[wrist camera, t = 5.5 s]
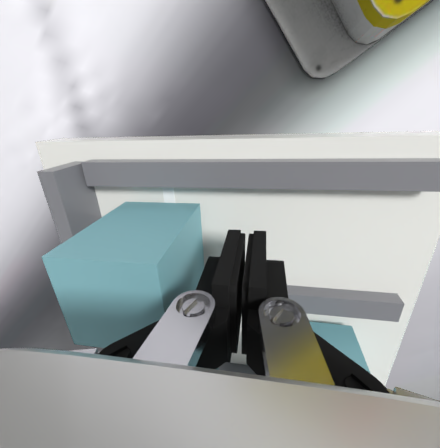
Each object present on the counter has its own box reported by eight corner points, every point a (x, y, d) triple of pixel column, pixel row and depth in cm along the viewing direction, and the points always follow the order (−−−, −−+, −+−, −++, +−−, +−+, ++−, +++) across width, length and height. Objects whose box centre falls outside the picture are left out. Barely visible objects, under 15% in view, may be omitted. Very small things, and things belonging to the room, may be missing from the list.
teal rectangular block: (199, 203, 13) (156, 264, 8) (204, 270, 14) (171, 357, 9) (125, 201, 13) (41, 256, 8) (138, 266, 15) (74, 344, 10)
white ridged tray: (444, 130, 12) (535, 141, 8) (350, 429, 21) (369, 501, 18) (62, 138, 15) (-11, 148, 11) (133, 394, 25) (107, 448, 21)
